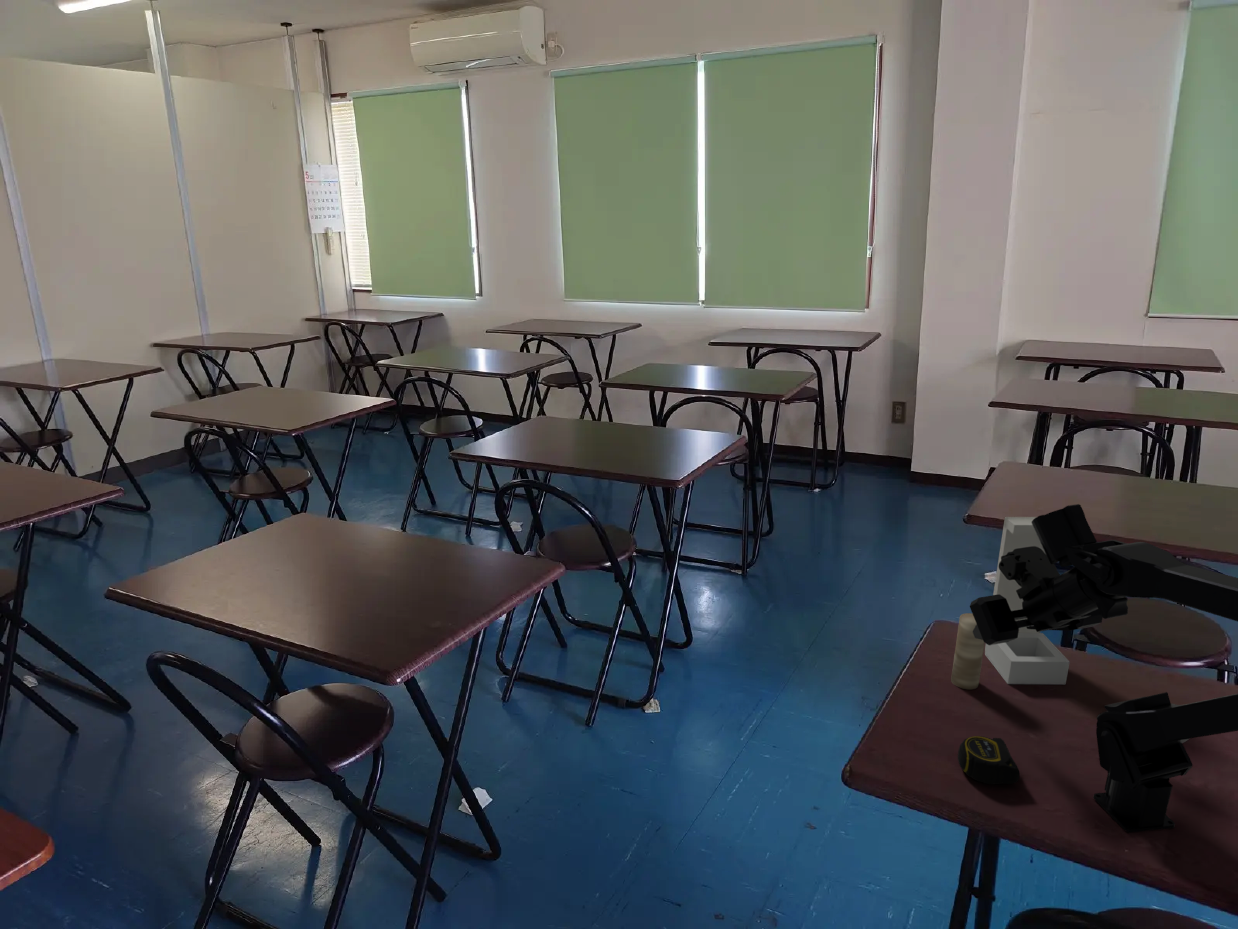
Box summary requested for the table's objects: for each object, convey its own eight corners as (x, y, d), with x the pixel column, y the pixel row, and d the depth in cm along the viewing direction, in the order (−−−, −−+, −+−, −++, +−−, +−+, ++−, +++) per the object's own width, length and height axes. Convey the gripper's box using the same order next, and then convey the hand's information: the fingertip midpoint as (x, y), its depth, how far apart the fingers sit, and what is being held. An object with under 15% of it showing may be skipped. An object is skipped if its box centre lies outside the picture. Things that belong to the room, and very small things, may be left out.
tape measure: (1018, 792, 110) (1023, 768, 109) (963, 787, 111) (966, 763, 109) (1003, 759, 116) (1007, 735, 115) (950, 754, 117) (954, 731, 116)
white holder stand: (1065, 684, 133) (1091, 542, 126) (1007, 684, 133) (1030, 542, 126) (1035, 650, 143) (1058, 517, 136) (981, 650, 143) (1001, 516, 136)
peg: (983, 688, 132) (993, 624, 129) (959, 690, 132) (968, 626, 128) (970, 674, 136) (979, 612, 133) (946, 676, 136) (954, 614, 132)
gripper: (1101, 530, 118) (1029, 570, 131) (989, 546, 112) (926, 586, 126) (1139, 607, 113) (1061, 641, 127) (1023, 627, 108) (955, 660, 121)
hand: (1000, 630), depth 125 cm, fingers open, 9 cm apart
